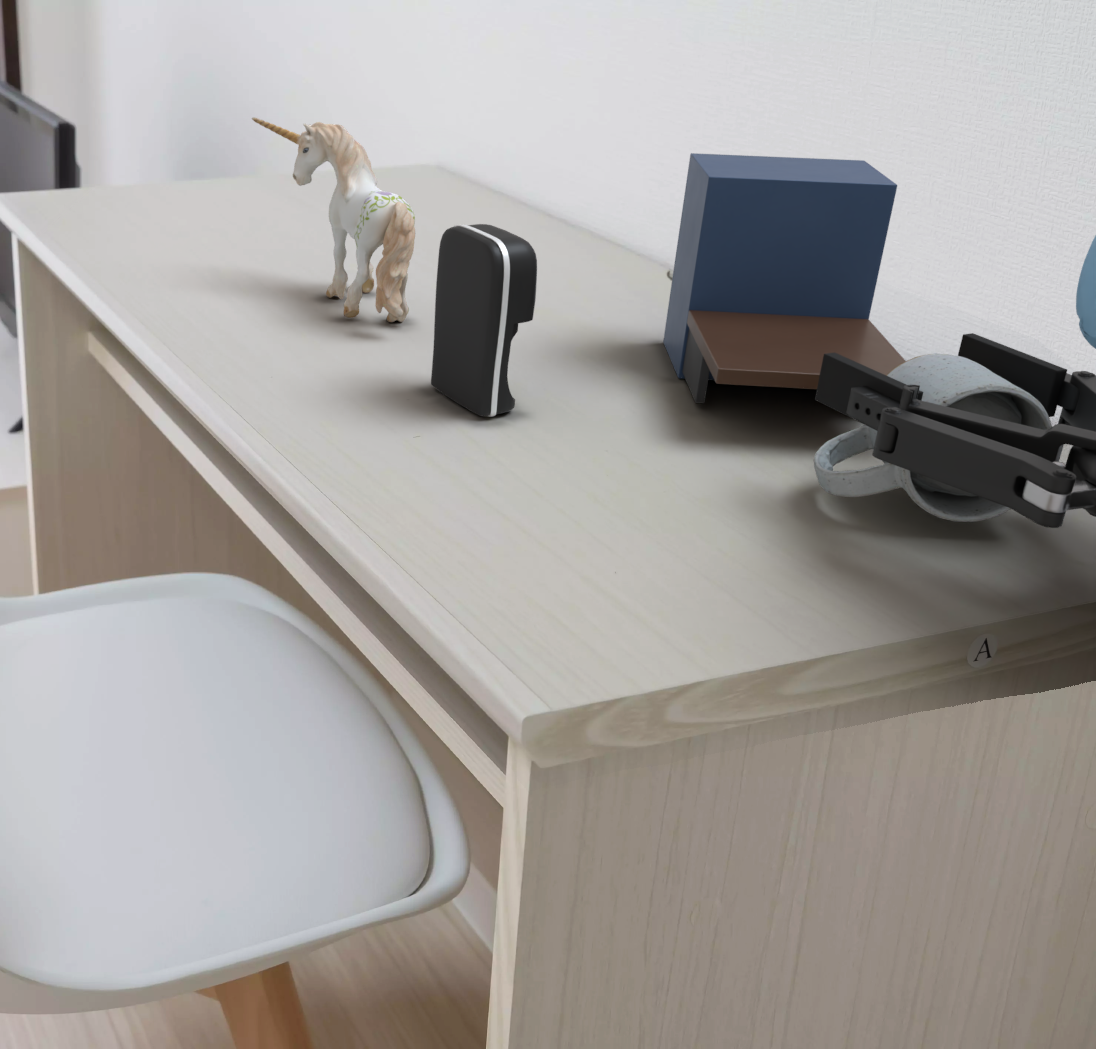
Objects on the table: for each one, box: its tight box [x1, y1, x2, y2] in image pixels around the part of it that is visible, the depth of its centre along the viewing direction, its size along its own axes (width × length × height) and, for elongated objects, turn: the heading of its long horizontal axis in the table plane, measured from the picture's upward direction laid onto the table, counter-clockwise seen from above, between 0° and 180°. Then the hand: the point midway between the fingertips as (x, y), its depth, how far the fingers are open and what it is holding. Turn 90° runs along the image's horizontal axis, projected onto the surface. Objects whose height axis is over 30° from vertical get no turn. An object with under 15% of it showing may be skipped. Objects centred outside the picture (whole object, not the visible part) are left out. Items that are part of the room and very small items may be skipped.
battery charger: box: [430, 223, 538, 418], centre depth 87 cm, size 7×4×11 cm, turn 26°
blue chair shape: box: [662, 152, 907, 404], centre depth 89 cm, size 12×20×14 cm, turn 174°
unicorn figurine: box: [251, 116, 416, 323], centre depth 105 cm, size 7×20×13 cm, turn 34°
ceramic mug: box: [813, 353, 1053, 523], centre depth 74 cm, size 11×8×8 cm
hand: (895, 365), depth 76 cm, fingers closed on ceramic mug, 9 cm apart
